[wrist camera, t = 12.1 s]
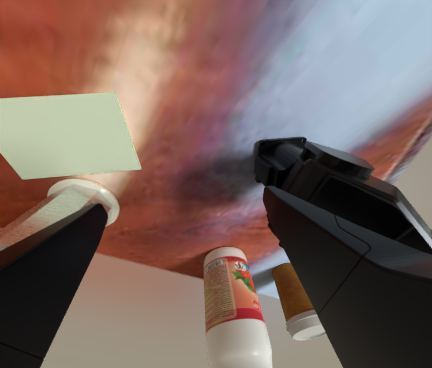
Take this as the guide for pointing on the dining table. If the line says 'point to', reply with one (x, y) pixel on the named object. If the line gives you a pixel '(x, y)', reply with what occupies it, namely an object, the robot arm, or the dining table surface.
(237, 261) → the fruit juice
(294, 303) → the disposable coffee cup
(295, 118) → the dining table surface
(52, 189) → the teal puck on dish
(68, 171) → the sage placemat
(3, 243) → the grey metal canister
